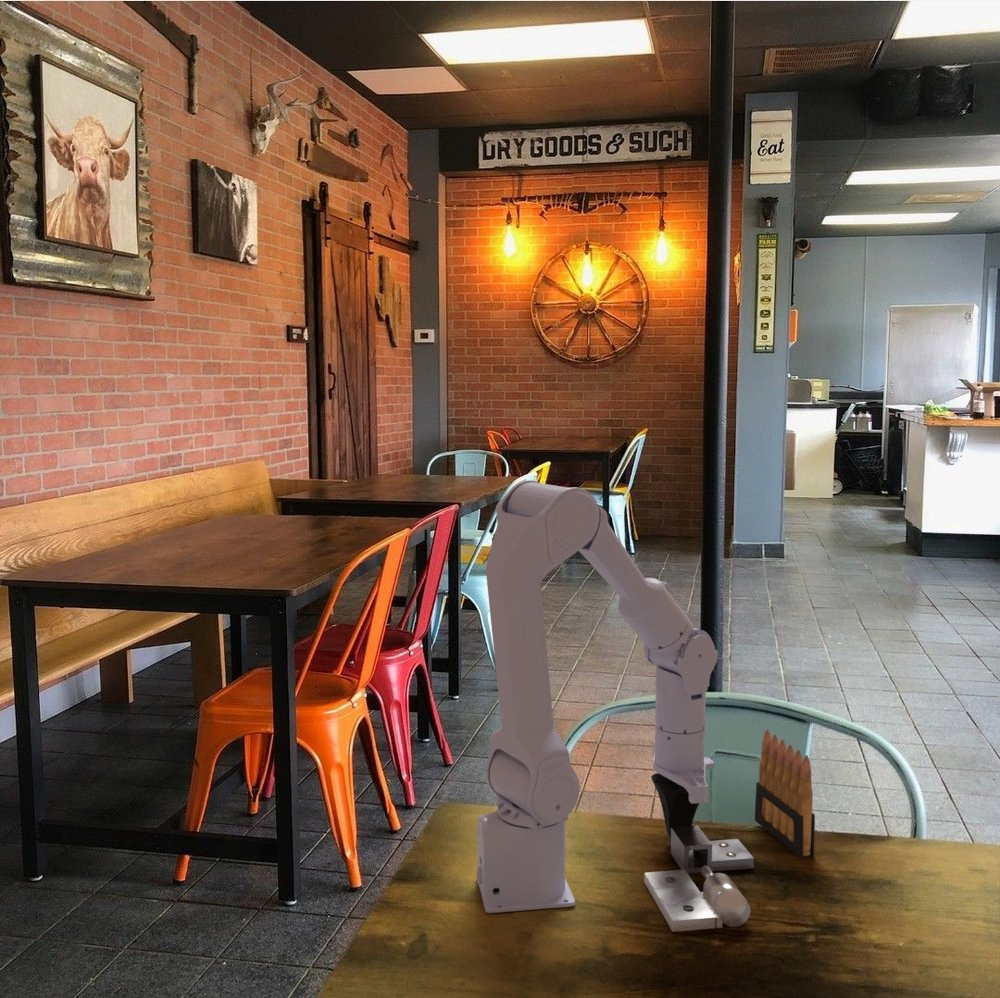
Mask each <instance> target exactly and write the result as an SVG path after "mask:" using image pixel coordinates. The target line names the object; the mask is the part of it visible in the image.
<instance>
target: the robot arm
mask: <svg viewBox="0 0 1000 998" xmlns="http://www.w3.org/2000/svg"><path fill="white" fill-rule="evenodd" d="M495 512H496V523H497V526H496V528H495V529H496V530H495V532H494V536H493V539H492V543H491V546H490V549H489V553H488V556H487V560H486V565H485V573H486V574H485V576H486V585H487V594H488V595H487V596H488V603H489V605H488V607H489V614H490V624H491V625H490V626H491V634H492V644H493V653H494V663H495V664H494V665H495V673H496V683H497V695H498V703H499V711H500V712H499V714H500V722H501V727H500V728H498V729H497V730H496V731H495V732H493V733H492V734H491V735H490V737H489V748H490V749H489V755H488V759H487V763H486V766H485V771H484V772H485V780H486V784H487V786H488V787H489V789H490V790H491V791H492V792H493V793H495V796H496V797H495V799H496V800H495V804H496V806H497V810H495V811H492V812H488V813H484V814H480V815H478V816H477V823H476V824H477V825H476V826H477V827H476V829H477V831H476V833H477V835H476V836H477V837H476V838H477V840H476V842H477V843H476V844H477V845H476V846H477V851H476V852H477V867H476V882H477V885H478V888H479V891H480V894H481V895H480V896H481V899H482V903H483V908H484V911H485V912H486V913H487V914H495V913H497V914H498V913H506V912H508V913H509V912H518V911H519V912H520V911H531V910H543V909H546V910H547V909H557V908H570V907H571V908H572V907H574V906H575V905H576V899H575V897H574V895H573V893H572V890H571V887H570V886H569V883H568V881H567V878H566V821H568V820H569V816H570V815H571V813H572V812H573V810H574V809H575V808H576V806H577V802H578V799H579V797H580V792H581V791H580V788H581V787H580V781H579V778H578V775H577V773H576V772H575V771H574V769H573V767H572V765H571V761H570V752H569V749H568V748H567V746H566V744H565V742H564V741H563V740H562V737H561V736H560V734H559V732H558V731H557V729H556V727H555V725H554V724H555V723H554V714H553V706H552V693H551V692H552V691H551V684H550V672H549V661H548V650H547V639H546V629H545V628H546V626H545V617H544V605H543V595H542V581H543V580H544V578H545V577H546V576H547V575H548V574H550V572H551V571H553V570H554V569H556V567H558V566H559V565H561V564H562V563H564V562H565V561H566V560H568V559H569V558H570V557H572V556H573V555H575V554H576V553H577V552H579V553H580V554H581V555H582V557H584V558H585V559H586V560H587V561H588V563H590V565H591V566H592V567H593V568H594V569H595V570H596V572H598V574H599V575H600V576H601V577H602V578H603V579H604V581H606V583H607V584H608V585H609V586H610V587H611V588H612V589H613V590H614V591H615V593H616V594H618V596H619V598H618V603H617V609H618V613H619V614H620V615H621V616H622V618H624V620H625V621H626V622H627V624H628V625H629V626H630V627H631V629H632V630H633V631H634V633H636V635H637V637H639V639H640V640H641V641H642V642H643V644H644V646H643V647H644V655H645V659H646V661H648V662H649V663H650V664H652V665H654V666H655V709H654V710H655V714H654V715H655V716H654V717H655V720H654V722H655V723H654V740H653V741H652V756H653V758H652V769H653V770H654V771H655V772H656V773H653V774H652V775H651V781H652V782H653V785H654V786H655V789H656V791H657V795H658V797H659V799H660V800H659V801H660V804H661V807H662V814H663V820H664V823H665V825H664V826H665V829H666V833H667V835H668V837H669V838H670V839H671V827H684V826H693V822H694V819H695V815H696V812H697V810H698V807H699V805H700V804H704V803H706V804H707V803H709V791H710V790H709V788H710V786H709V784H708V783H707V780H706V778H707V777H706V776H707V771H706V770H712V769H714V767H715V762H714V760H712V758H710V757H708V756H705V743H706V741H705V735H706V731H705V729H706V695H707V694H706V693H707V691H708V687H710V679H711V675H712V672H713V670H714V668H715V667H716V664H717V661H718V657H719V650H716V647H715V644H714V642H713V640H712V638H711V636H710V634H709V633H708V632H707V631H705V630H702V629H700V628H696V627H694V624H693V622H692V621H691V619H692V616H691V615H690V613H689V612H687V611H684V610H683V609H682V608H681V606H680V605H679V604H678V603H677V601H676V600H675V599H674V598H673V596H672V595H671V592H672V591H673V589H672V587H671V586H670V584H669V583H668V582H665V581H661V580H659V579H657V578H654V577H644V575H643V573H642V572H641V571H640V569H639V567H638V566H637V564H636V563H635V561H634V560H633V558H632V557H631V555H630V554H629V553H628V551H627V550H626V548H625V547H624V545H623V544H622V542H621V540H620V539H619V537H618V535H617V534H616V533H615V532H614V529H613V528H612V527H611V526H610V523H609V522H608V519H609V518H608V513H607V511H606V510H605V509H604V508H603V507H602V506H601V505H599V504H598V502H597V500H596V499H595V497H594V496H593V495H592V494H591V492H589V491H588V490H587V489H585V488H580V487H576V486H575V487H567V486H561V485H560V486H559V485H553V484H547V483H543V482H539V481H535V480H533V479H532V480H531V479H529V480H527V479H526V480H523V481H519V482H518V483H516V484H514V485H513V486H512V487H511V488H510V489H509V490H508V492H507V493H506V494H505V495H504V496H503V498H502V499H501V500H500V501H499V502H498V503H497V504H496V506H495Z"/></svg>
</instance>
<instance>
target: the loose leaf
mask: <svg viewBox="0 0 1000 998" xmlns="http://www.w3.org/2000/svg"><path fill="white" fill-rule="evenodd" d="M670 855H671V857H672V858H673V860H674V861H675V863H676V864H677V866H678V867H679V868H680V870H686V872H687V873H688V874H697V873H702V872H701V868H702V867H703V866H708V867H709V868H710V869H711V871H712V872H720V871H735V870H748V869H749V870H750V869H754V865H755V864H754V863H755V861H754V860H755V859H754V857H753V855H752V854H751V853H750V852H749V851H748V849H747V847H745V845H743V843H742V842H741V841H740V840H739V839H738V838H735V839H733V838H732V839H719V840H710V839H709V838H708V836H706V834H705V833H704V832H703V830H702V829H701V828H700V826H699V825H692V826H684V827H671V838H670Z"/></svg>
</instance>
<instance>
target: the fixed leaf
mask: <svg viewBox="0 0 1000 998" xmlns="http://www.w3.org/2000/svg"><path fill="white" fill-rule="evenodd" d="M700 873H701V874H702V875H703V877H704V878H705V881H704V882H703V886H702V887H703V888H702V891H700V890H699V888H698V886H696V884H695V882H694V881H693V879H692V878H691V876H690V875H689V873H687V872H686V870H681V869H675V870H665V871H664V870H663V871H661V870H660V871H651V872H650V871H649V872H644V875H643V877H644V880H643V883H644V885H645V886H646V888H647V890H648V892H649V894H650V895H651V897H652V899H653V900H654V902H655V904H656V905H657V907H658V909H659V911H660V913H661V914H662V916H663V918H664V920H665V921H666V923H667V925H668V927H669V928H670V930H671V932H672V933H673V932H685V931H697V930H698V931H699V930H709V929H720V928H721V929H722V928H723V925H726V926H728V927H732V928H733V927H740V926H742V925H744V924H745V923H746V922H747V921H748V920H749V917H750V915H751V905H750V904H749V902H748V900H747V898H745V896H744V895H743V894H742V892H741V891H740V890H739V889H738V887H737V885H736V884H735V882H733V881H732V879H731V878H730V876H729V875H727V874H726V873H722V872H716V873H714V871H711V869H710V868H709V867H708V866H703V867H702V868H701V872H700Z"/></svg>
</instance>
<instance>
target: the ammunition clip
mask: <svg viewBox="0 0 1000 998" xmlns="http://www.w3.org/2000/svg"><path fill="white" fill-rule="evenodd" d="M758 768H759V769H758V772H759V773H758V782H756V785H755V786H756V787H755V803H754V804H755V805H754V806H755V807H754V821H755V822H756V823H757V824H758V825H760V826H761V827H762V828H766V829H767V830H766V829H765V830H766V831H767V832H768V833H769V834H770V835H771V836H773V837H774V838H775V839H776V840H777V841H779V842H780V843H781V844H782V845H784V847H786V849H788V850H789V851H790V852H791V853H793V854H794V855H795V856H796V857H798V858H799V859H807V858H813V857H815V831H816V830H815V829H816V828H815V827H816V823H815V822H816V821H815V819H816V814H815V813H814V812H813V795H814V794H813V793H814V791H813V788H812V787H813V786H812V767H811V762H810V757H809V756H808V755H807V754H806V755H805V756H804V758H802V753H801V750H799V749H797V750H796V752H794V748H793V746H792V744H789V745H788V746H787V747H786V743H785V740H784V739H781V741H780V742H779V739H778V737H777V734H775V733H774V734H773V736H772V738H771V733H770V731H769V729H766V730H765V732H764V734H763V737H762V742H761V753H760V760H759V767H758Z"/></svg>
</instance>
